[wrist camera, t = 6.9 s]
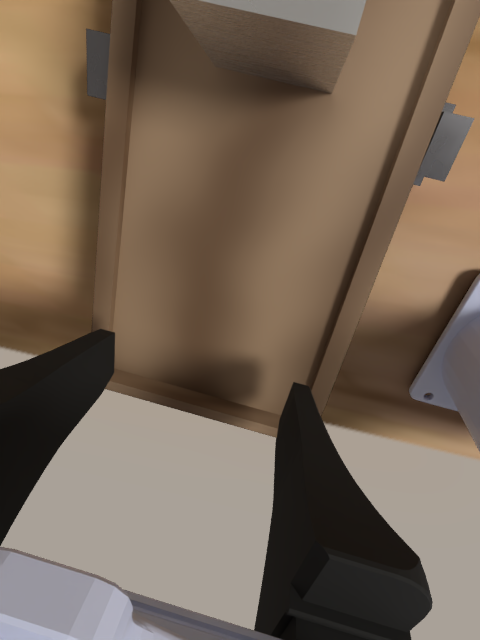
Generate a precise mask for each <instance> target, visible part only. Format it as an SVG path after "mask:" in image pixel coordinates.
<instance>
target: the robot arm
mask: <svg viewBox="0 0 480 640" xmlns="http://www.w3.org/2000/svg"><path fill="white" fill-rule="evenodd" d="M114 362H115V332H111V331H107V330H104V329H99V330H96V331H94V332H91V333H89V334H87V335H85V336H83V337H80V338H78V339H76V340H74V341H72V342H70V343H67V344H65V345H63V346H61V347H58V348H56V349H54V350H52V351H49V352H47V353H44V354H42V355H39V356H37V357H34V358H32V359H30V360H27V361H24V362H21V363H18V364H15V365H12V366H9V367H7V368H3V369H0V546H1V543H2V542H3V540H4V538H5V536H6V535H7V533H8V531H9V529H10V527H11V525H12V524H13V522H14V520H15V518H16V516H17V515H18V513H19V511H20V510H21V508H22V506H23V505H24V503H25V501H26V499H27V498H28V496H29V494H30V493H31V491H32V489H33V488H34V486H35V484H36V483H37V481H38V480H39V478H40V476H41V475H42V473H43V472H44V470H45V468H46V467H47V465H48V464H49V462H50V461H51V459H52V457H53V456H54V455H55V453H56V452H57V450H58V448H59V447H60V446H61V444H62V443H63V442H64V440H65V439H66V438H67V436H68V435H69V434H70V433H71V431H72V430H73V429H74V427H75V426H76V425H77V424H78V423H79V421H80V420H81V419H82V418H83V417H84V415H85V414H86V413H87V411H88V410H89V409H90V408H91V407H92V405H93V404H94V403H95V402H96V400H97V399H98V398H99V396H100V395H101V394H102V392H103V391H104V389H105V387H106V386H107V384H108V383H109V381H110V379H111V377H112V376H113V374H114ZM409 393H410V396H411V397H412V398H413V399H415V400H418V401H421V402H425V403H429V404H432V405H436V406H440V407H443V408H447V409H451V410H454V411H458V412H459V413H460V415H461V417H462V419H463V421H464V423H465V425H466V427H467V429H468V431H469V433H470V434H471V436H472V438H473V440H474V442H475V444H476V446H477V448H478V450H479V452H480V274H479V275H478V276H477V277H476V278H475V280H474V282H473V283H472V285H471V287H470V288H469V290H468V292H467V293H466V295H465V297H464V298H463V300H462V301H461V303H460V305H459V306H458V308H457V310H456V311H455V313H454V315H453V316H452V318H451V320H450V321H449V323H448V325H447V326H446V328H445V330H444V331H443V333H442V335H441V336H440V338H439V340H438V341H437V343H436V345H435V346H434V348H433V350H432V351H431V353H430V355H429V356H428V358H427V360H426V361H425V363H424V365H423V366H422V368H421V370H420V371H419V373H418V375H417V376H416V378H415V380H414V381H413V383H412V385H411V386H410V388H409ZM426 393H431V394H430V395H425V394H426ZM431 609H432V598H431V594H430V590H429V586H428V583H427V579H426V575H425V573H424V570H423V567H422V565H421V561H420V558H419V557H418V556H417V555H416V553H415V552H414V551H413V550H412V549H411V548H410V547H409V546H408V545H407V544H406V543H405V542H404V541H403V540H402V539H401V538H400V537H399V536H398V534H397V533H396V532H395V531H394V530H393V529H392V528H391V527H390V526H389V524H387V522H386V521H385V520H384V518H383V517H382V516H381V515H380V514H379V513H378V511H377V510H376V509H375V508H374V506H373V505H372V504H371V502H370V501H369V500H368V498H367V497H366V496H365V495H364V493H363V492H362V490H361V489H360V488H359V486H358V485H357V484H356V482H355V480H354V479H353V478H352V476H351V475H350V473H349V471H348V470H347V468H346V466H345V465H344V463H343V461H342V459H341V458H340V456H339V454H338V452H337V450H336V448H335V446H334V444H333V443H332V441H331V439H330V436H329V434H328V432H327V430H326V428H325V425H324V423H323V421H322V418H321V416H320V414H319V411H318V408H317V406H316V403H315V400H314V398H313V395H312V392H311V389H310V387H309V386H307V385H303V384H299V383H296V382H293V384H292V387H291V390H290V392H289V395H288V398H287V400H286V403H285V406H284V409H283V411H282V414H281V417H280V420H279V426H278V432H277V438H276V448H275V473H274V500H273V511H272V518H271V526H270V533H269V541H268V547H267V554H266V561H265V567H264V575H263V580H262V586H261V593H260V599H259V605H258V611H257V617H256V623H255V629H254V630H251V629H247V628H244V627H241V626H238V625H234V624H232V623H228V622H225V621H222V620H219V619H216V618H212V617H209V616H206V615H203V614H200V613H197V612H193V611H190V610H187V609H184V608H181V607H177V606H174V605H171V604H168V603H165V602H161V601H158V600H155V599H152V598H149V597H145V596H142V595H139V594H136V593H133V592H130V591H127V590H123V589H122V588H120V587H119V586H118V585H117V584H115V583H114V582H111V581H109V580H107V579H105V578H102V577H100V576H98V575H95V574H92V573H88V572H85V571H82V570H79V569H76V568H72V567H69V566H66V565H63V564H60V563H57V562H53V561H50V560H47V559H44V558H40V557H37V556H34V555H31V554H28V553H24V552H21V551H18V550H15V549H9V548H4V547H0V640H411V636H410V630H411V629H412V628H413V627H415V626H416V625H417V624H418V623H419V622H420V621H421V620H423V619H424V618H425V616H426V615H427V614H428V613H429V611H430V610H431Z"/></svg>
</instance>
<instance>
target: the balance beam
mask: <svg viewBox="0 0 480 640" xmlns="http://www.w3.org/2000/svg"><path fill="white" fill-rule="evenodd" d="M479 16H480V0H366V3H365V6H364V10H363V13H362V17H361V20H360V24H359V27H358V31H357V34H356V37H355V39H354V42H353V44H352V47H351V49H350V51H349V54H348V56H347V59H346V61H345V63H344V66H343V68H342V71H341V73H340V75H339V78H338V80H337V83H336V85H335V87H334V90H333V92H332V94H331V93H326V92H322V91H318V90H313V89H309V88H305V87H300V86H296V85H292V84H287V83H283V82H279V81H274V80H270V79H266V78H262V77H257V76H253V75H249V74H244V73H240V72H236V71H231V70H227V69H223V68H218V67H215V65H214V64H213V62H212V61H211V60H210V58H209V57H208V55H207V54H206V52H205V51H204V49H203V48H202V47H201V45H200V44H199V42H198V41H197V39H196V38H195V36H194V35H193V34H192V32H191V31H190V29H189V28H188V26H187V25H186V23H185V22H184V20H183V19H182V18H181V16H180V15H179V13H178V12H177V10H176V9H175V7H174V6H173V5H172V3H171V2H170V0H112V16H111V32H110V47H109V63H108V79H107V95H106V111H105V127H104V143H103V159H102V174H101V190H100V206H99V222H98V238H97V254H96V270H95V286H94V301H93V317H92V332H94V331H96V330H99V329H104V330H107V331H111V332H115V362H114V374H113V376H112V377H111V379H110V381H109V383H108V384H107V386H106V387H105V389H107V390H111V391H115V392H118V393H122V394H125V395H129V396H132V397H136V398H139V399H143V400H146V401H150V402H153V403H157V404H160V405H164V406H167V407H171V408H174V409H178V410H181V411H185V412H188V413H192V414H195V415H199V416H203V417H206V418H209V419H213V420H217V421H220V422H223V423H227V424H230V425H234V426H237V427H241V428H244V429H248V430H251V431H255V432H258V433H262V434H266V435H269V436H273V437H276V438H277V432H278V426H279V420H280V417H281V414H282V411H283V409H284V406H285V403H286V400H287V398H288V395H289V392H290V390H291V387H292V384H293V382H296V383H299V384H303V385H307V386H309V387H310V389H311V392H312V395H313V398H314V400H315V403H316V406H317V408H318V411H319V414H320V416H322V413H323V411H324V408H325V406H326V403H327V401H328V398H329V396H330V393H331V391H332V388H333V385H334V383H335V380H336V378H337V375H338V373H339V370H340V368H341V365H342V363H343V360H344V358H345V355H346V353H347V350H348V348H349V345H350V342H351V340H352V337H353V335H354V332H355V330H356V327H357V325H358V322H359V320H360V317H361V315H362V312H363V310H364V307H365V305H366V302H367V299H368V297H369V294H370V292H371V289H372V287H373V284H374V282H375V279H376V277H377V274H378V272H379V269H380V267H381V264H382V262H383V259H384V257H385V254H386V251H387V249H388V246H389V244H390V241H391V239H392V236H393V234H394V231H395V229H396V226H397V224H398V221H399V219H400V216H401V214H402V211H403V208H404V206H405V203H406V201H407V198H408V196H409V193H410V191H411V188H412V186H413V183H414V181H415V178H416V176H417V173H418V171H419V168H420V165H421V163H422V160H423V158H424V155H425V153H426V150H427V148H428V145H429V143H430V140H431V138H432V135H433V133H434V130H435V128H436V125H437V123H438V120H439V117H440V115H441V112H442V110H443V107H444V105H445V102H446V100H447V97H448V95H449V92H450V90H451V87H452V85H453V82H454V80H455V77H456V74H457V72H458V69H459V67H460V64H461V62H462V59H463V57H464V54H465V52H466V49H467V47H468V44H469V42H470V39H471V37H472V34H473V31H474V29H475V26H476V24H477V21H478V19H479Z"/></svg>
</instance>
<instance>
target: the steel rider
mask: <svg viewBox="0 0 480 640" xmlns="http://www.w3.org/2000/svg"><path fill="white" fill-rule="evenodd" d="M170 2H171V3H172V5H173V6H174V7H175V9H176V10H177V12H178V13H179V15H180V16H181V18H182V19H183V20H184V22H185V23H186V25H187V26H188V28H189V29H190V31H191V32H192V34H193V35H194V36H195V38H196V39H197V41H198V42H199V44H200V45H201V47H202V48H203V49H204V51H205V52H206V54H207V55H208V57H209V58H210V60H211V61H212V62H213V64H214V65H215V67H218V68H223V69H227V70H231V71H236V72H240V73H244V74H249V75H253V76H257V77H262V78H266V79H270V80H274V81H279V82H283V83H287V84H292V85H296V86H300V87H305V88H309V89H313V90H318V91H322V92H326V93H331V94H332V92H333V90H334V87H335V85H336V83H337V80H338V78H339V75H340V73H341V71H342V68H343V66H344V63H345V61H346V59H347V56H348V54H349V51H350V49H351V47H352V44H353V42H354V39H355V37H356V34H357V31H358V27H359V24H360V20H361V17H362V13H363V10H364V6H365V3H366V0H170Z"/></svg>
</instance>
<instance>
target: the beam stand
mask: <svg viewBox="0 0 480 640" xmlns="http://www.w3.org/2000/svg"><path fill="white" fill-rule="evenodd" d="M86 39H87V94H88V96H93V97H97V98H101V99H105V100H106V95H107V79H108V63H109V47H110V34H107V33H103V32H99V31H94V30H90V29H86ZM455 106H456V105H454V104H450V103H445V105H444V107H443V110H442V112H441V115H440V117H439V120H438V123H437V125H436V128H435V130H434V133H433V135H432V138H431V140H430V143H429V145H428V148H427V150H426V153H425V155H424V158H423V160H422V163H421V165H420V168H419V171H418V173H417V176H416V178H415V181H414V183H413V184H414V185H418V186H420V185H421V182H422V180H423V178H424V177H428V178H432V179H436V180H440V181H445V179H446V177H447V175H448V173H449V171H450V169H451V167H452V164H453V162H454V160H455V158H456V156H457V154H458V152H459V150H460V148H461V146H462V143H463V141H464V139H465V137H466V135H467V133H468V131H469V129H470V127H471V125H472V122H473V120H474V118H470V117H466V116H461V115H457V114H453V111H454V108H455Z"/></svg>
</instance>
